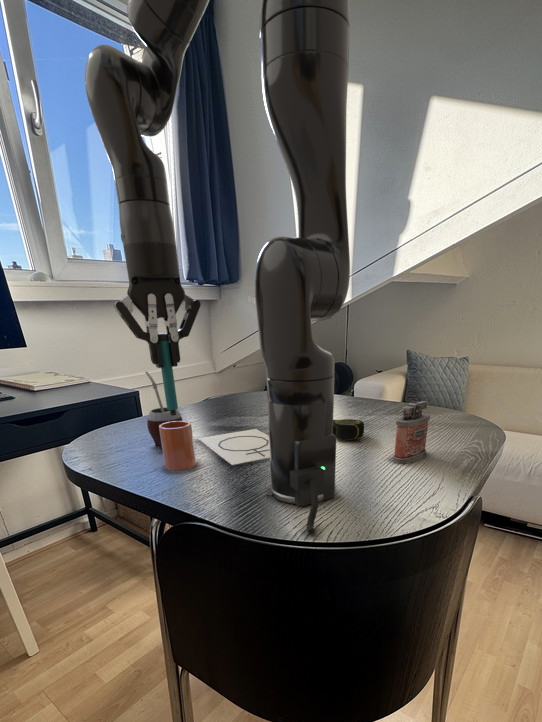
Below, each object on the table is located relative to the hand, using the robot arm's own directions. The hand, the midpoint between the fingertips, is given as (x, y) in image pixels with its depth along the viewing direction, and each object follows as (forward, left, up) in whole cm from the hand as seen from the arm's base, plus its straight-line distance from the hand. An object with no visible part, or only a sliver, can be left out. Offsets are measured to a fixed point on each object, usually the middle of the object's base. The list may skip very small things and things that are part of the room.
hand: (166, 366), depth 67 cm
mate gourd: (+13, -1, -18) cm, 22 cm away
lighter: (-18, -38, -18) cm, 46 cm away
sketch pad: (+5, -15, -18) cm, 24 cm away
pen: (0, 0, -8) cm, 8 cm away
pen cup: (0, 0, -18) cm, 18 cm away
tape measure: (-1, -36, -18) cm, 40 cm away
